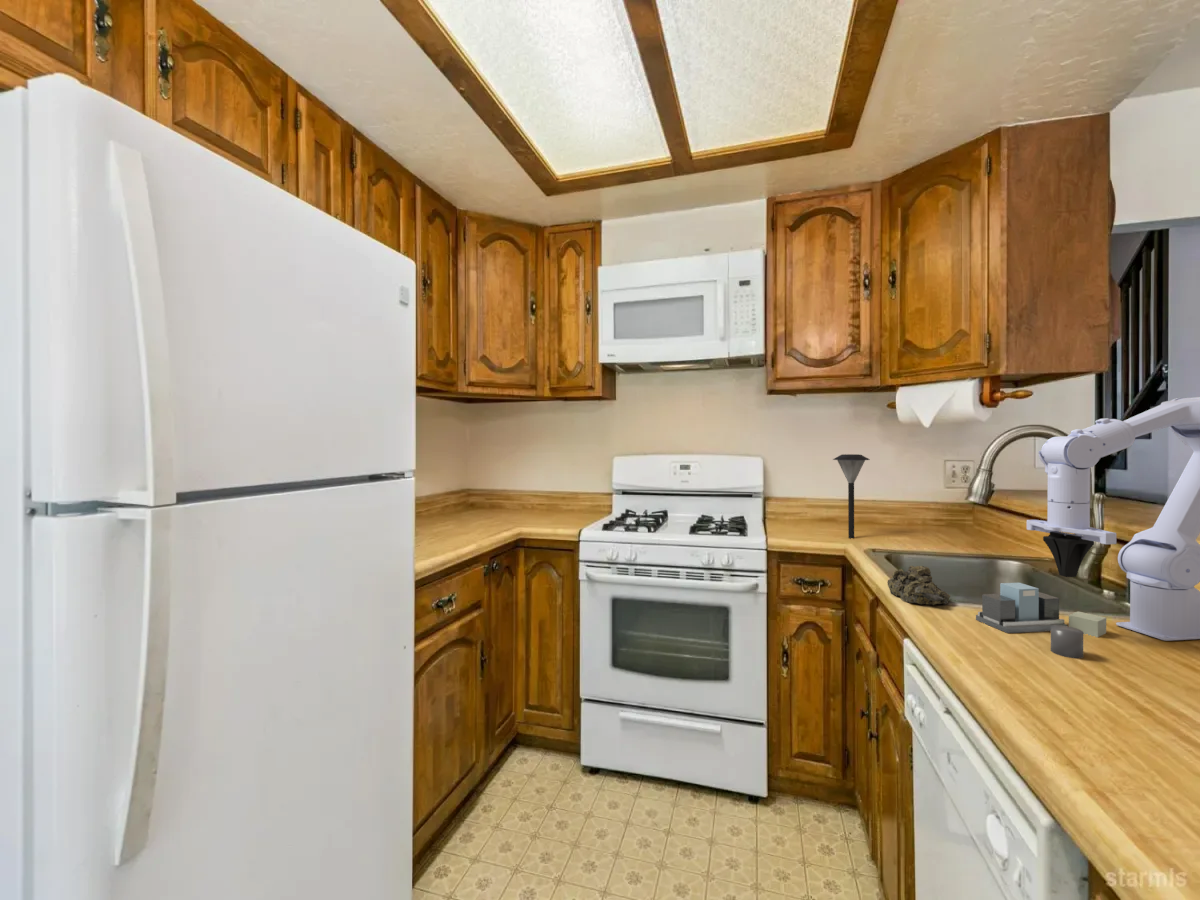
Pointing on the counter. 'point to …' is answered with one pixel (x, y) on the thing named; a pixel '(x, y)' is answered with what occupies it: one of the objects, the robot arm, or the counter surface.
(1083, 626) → the block
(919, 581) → the rock
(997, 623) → the rail base
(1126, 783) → the counter surface
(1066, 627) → the grey rounded cylinder
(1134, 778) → the counter surface
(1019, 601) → the block
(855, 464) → the solar garden light
